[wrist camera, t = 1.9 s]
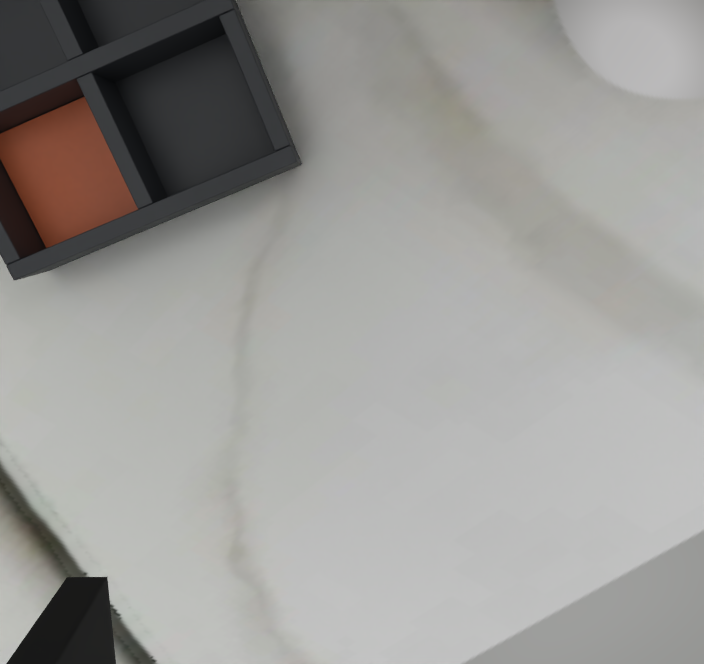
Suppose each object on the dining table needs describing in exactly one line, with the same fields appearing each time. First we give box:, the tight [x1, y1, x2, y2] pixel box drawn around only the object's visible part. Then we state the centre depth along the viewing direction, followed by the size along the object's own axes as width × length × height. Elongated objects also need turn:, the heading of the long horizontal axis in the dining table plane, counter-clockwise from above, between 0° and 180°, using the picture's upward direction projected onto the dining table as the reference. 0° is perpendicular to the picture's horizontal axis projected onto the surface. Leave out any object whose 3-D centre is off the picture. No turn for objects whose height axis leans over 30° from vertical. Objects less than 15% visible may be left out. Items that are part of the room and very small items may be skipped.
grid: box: [0, 0, 302, 280], centre depth 29 cm, size 15×15×4 cm
